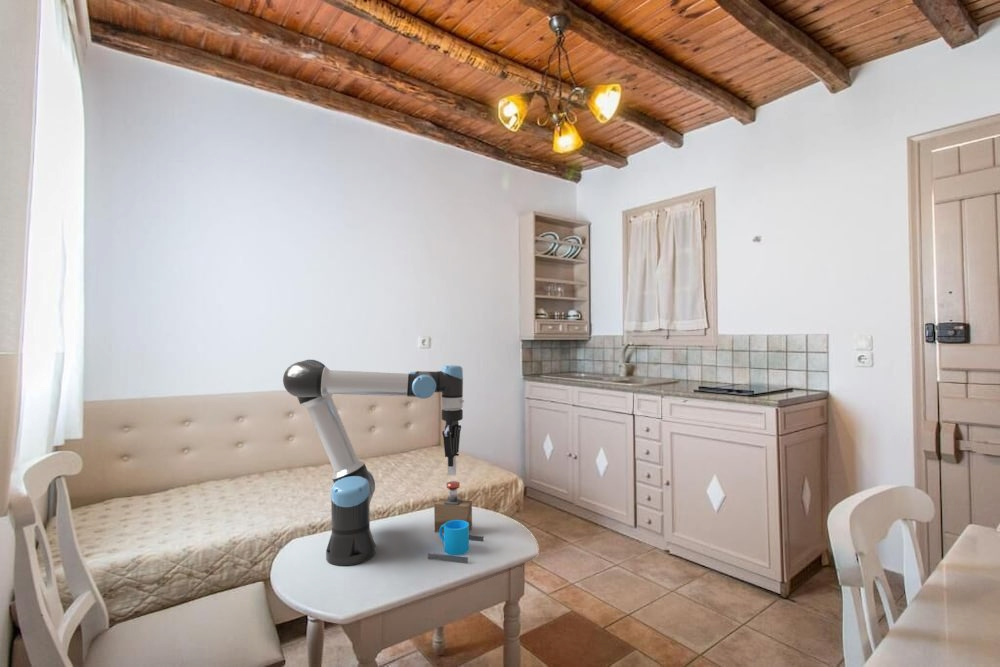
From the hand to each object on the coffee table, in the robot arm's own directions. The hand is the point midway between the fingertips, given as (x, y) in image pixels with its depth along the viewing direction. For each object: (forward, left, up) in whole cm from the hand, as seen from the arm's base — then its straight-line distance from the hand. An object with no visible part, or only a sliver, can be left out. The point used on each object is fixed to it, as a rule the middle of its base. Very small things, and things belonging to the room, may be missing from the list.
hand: (451, 474), depth 173 cm
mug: (+5, -13, -20) cm, 25 cm away
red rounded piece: (0, 0, -9) cm, 9 cm away
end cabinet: (0, 0, -20) cm, 20 cm away
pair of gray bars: (+7, -14, -20) cm, 25 cm away
